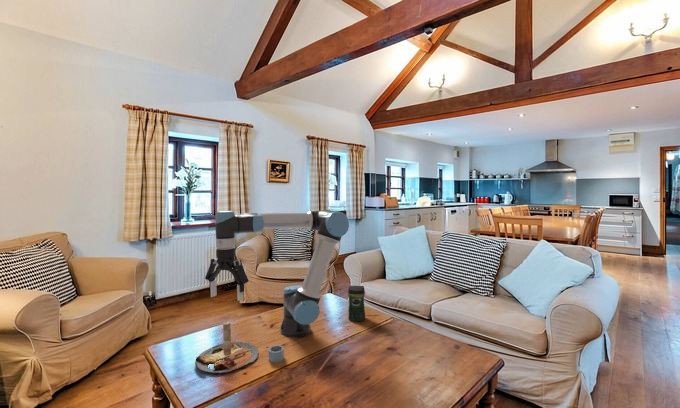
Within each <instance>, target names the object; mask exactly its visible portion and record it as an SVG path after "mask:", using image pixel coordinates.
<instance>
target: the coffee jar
mask: <svg viewBox="0 0 680 408" xmlns="http://www.w3.org/2000/svg"><path fill="white" fill-rule="evenodd" d="M365 295H366V290H365V286H364V285H349V286H348V289H347V296H348V310H347V311H348V312H347V319H348V320H349V321H352V322H363V321H364V320H365V319H366V311H365V310H366V309H365Z"/></svg>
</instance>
